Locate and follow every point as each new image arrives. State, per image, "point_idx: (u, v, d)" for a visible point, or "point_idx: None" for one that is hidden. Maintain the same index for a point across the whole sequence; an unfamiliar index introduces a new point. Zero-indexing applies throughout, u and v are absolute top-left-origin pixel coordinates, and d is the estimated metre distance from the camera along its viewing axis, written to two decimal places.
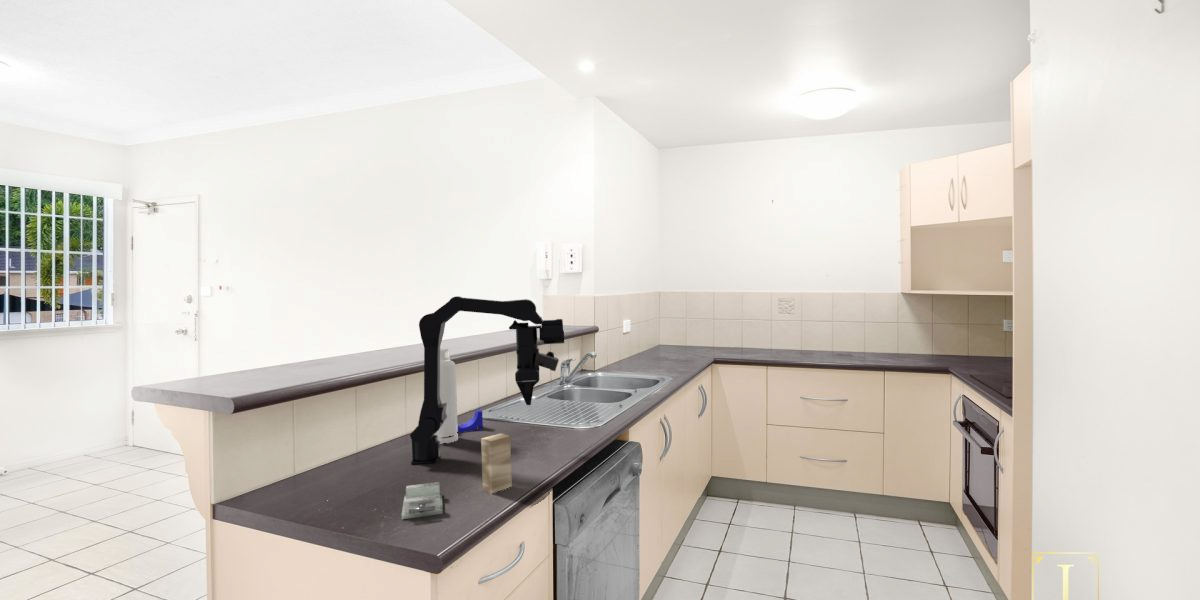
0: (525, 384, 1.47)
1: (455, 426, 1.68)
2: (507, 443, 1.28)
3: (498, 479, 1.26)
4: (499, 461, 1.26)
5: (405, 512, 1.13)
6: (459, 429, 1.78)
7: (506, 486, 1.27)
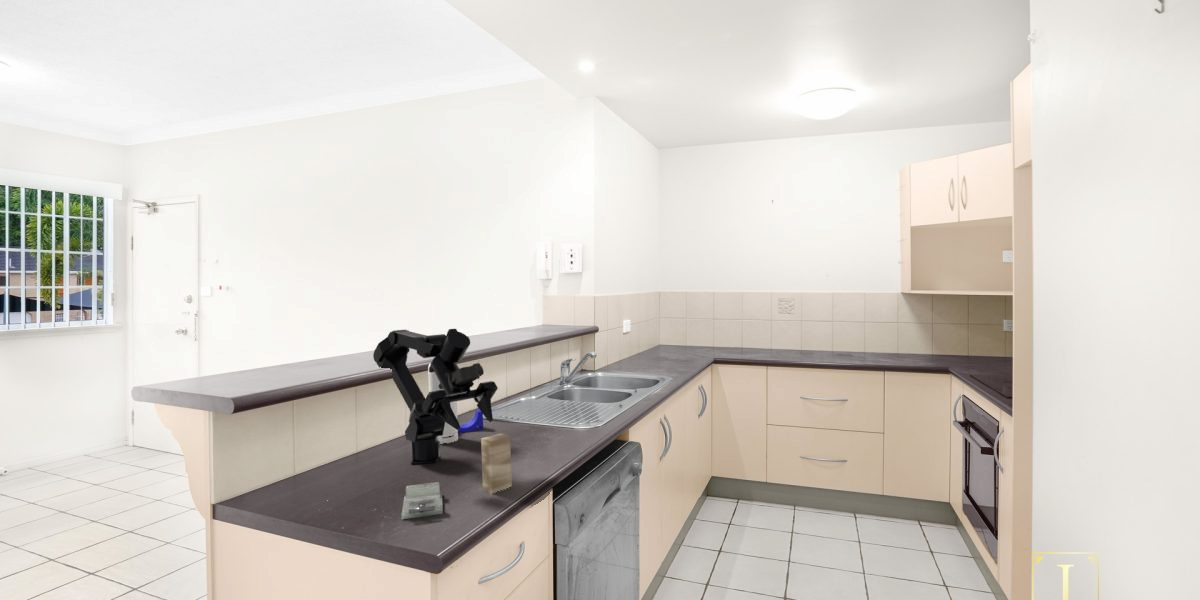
0: (443, 411, 1.32)
1: None
2: (507, 443, 1.28)
3: (498, 479, 1.26)
4: (499, 461, 1.26)
5: (405, 512, 1.13)
6: (459, 429, 1.77)
7: (506, 486, 1.27)
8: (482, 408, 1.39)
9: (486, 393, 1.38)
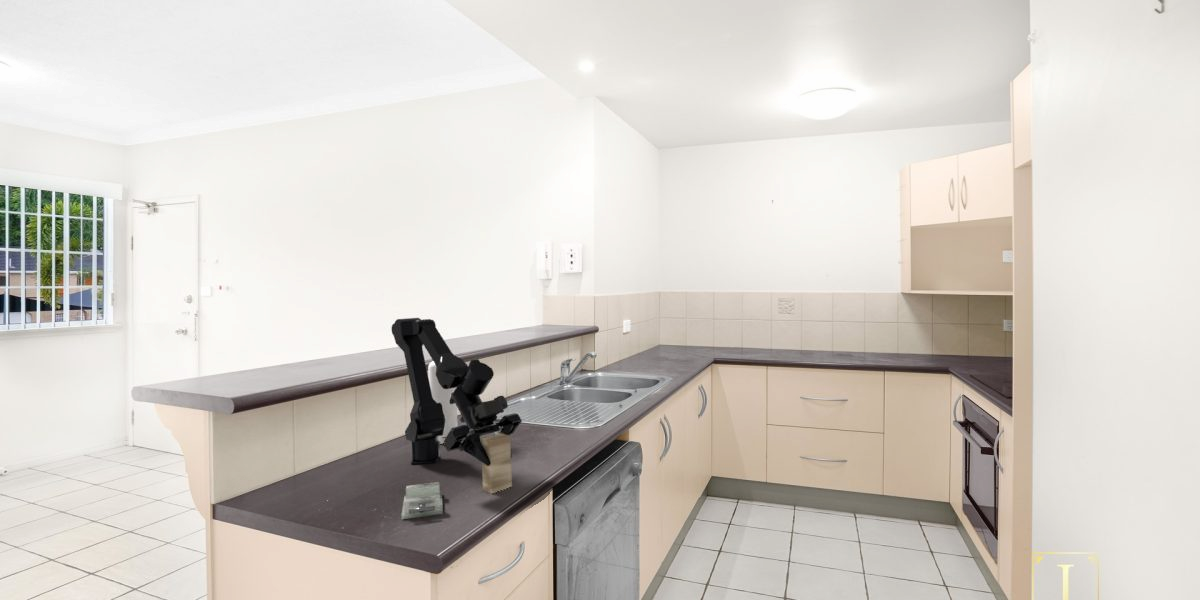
0: (472, 446, 1.27)
1: (455, 426, 1.68)
2: (507, 443, 1.28)
3: (498, 479, 1.26)
4: (499, 461, 1.26)
5: (405, 512, 1.13)
6: None
7: (506, 486, 1.27)
8: None
9: (504, 429, 1.31)
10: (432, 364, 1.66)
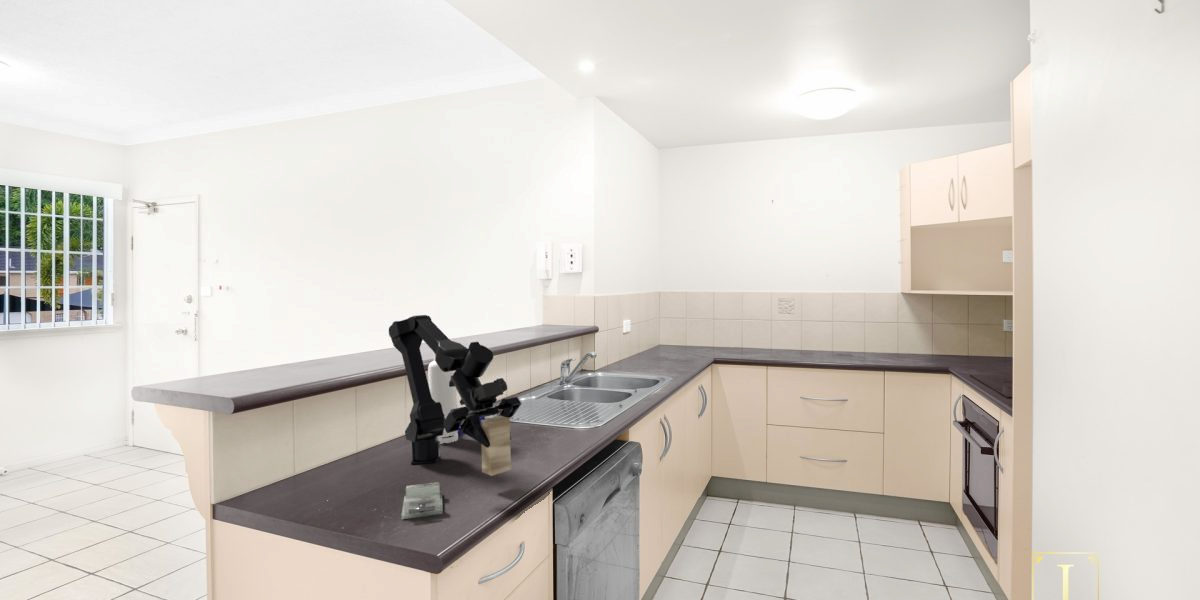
0: (472, 428, 1.26)
1: None
2: (507, 425, 1.28)
3: (497, 461, 1.26)
4: (499, 443, 1.26)
5: (405, 512, 1.13)
6: None
7: (505, 468, 1.27)
8: None
9: (503, 411, 1.31)
10: (432, 364, 1.66)
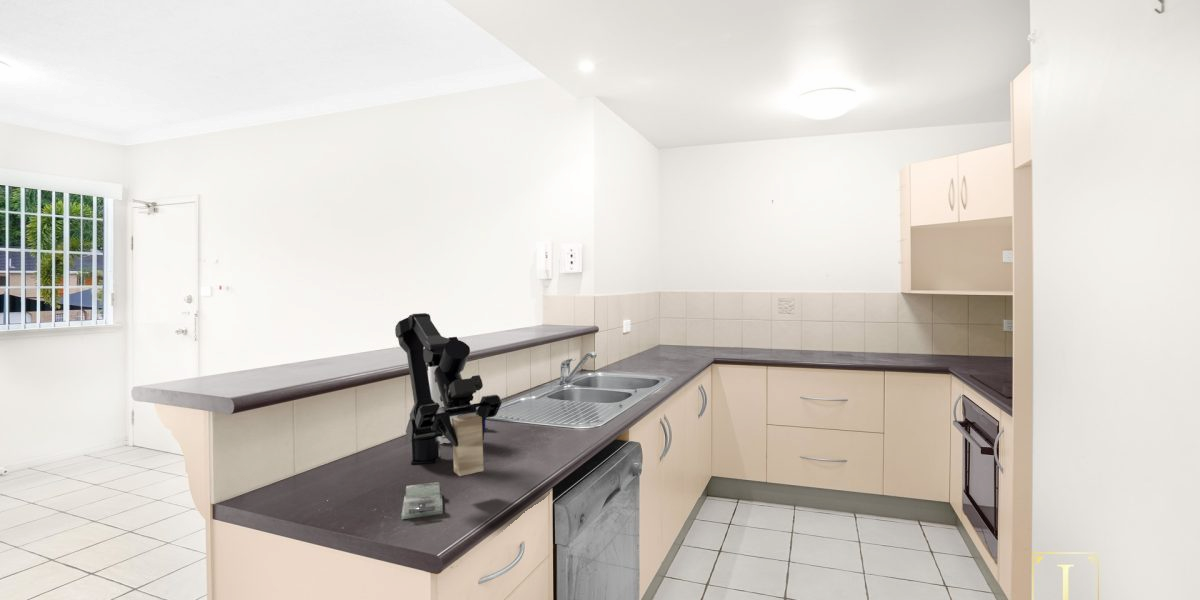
0: (444, 425, 1.23)
1: None
2: (478, 425, 1.22)
3: (467, 461, 1.21)
4: (468, 443, 1.21)
5: (405, 512, 1.13)
6: None
7: (477, 469, 1.22)
8: None
9: (479, 410, 1.25)
10: None
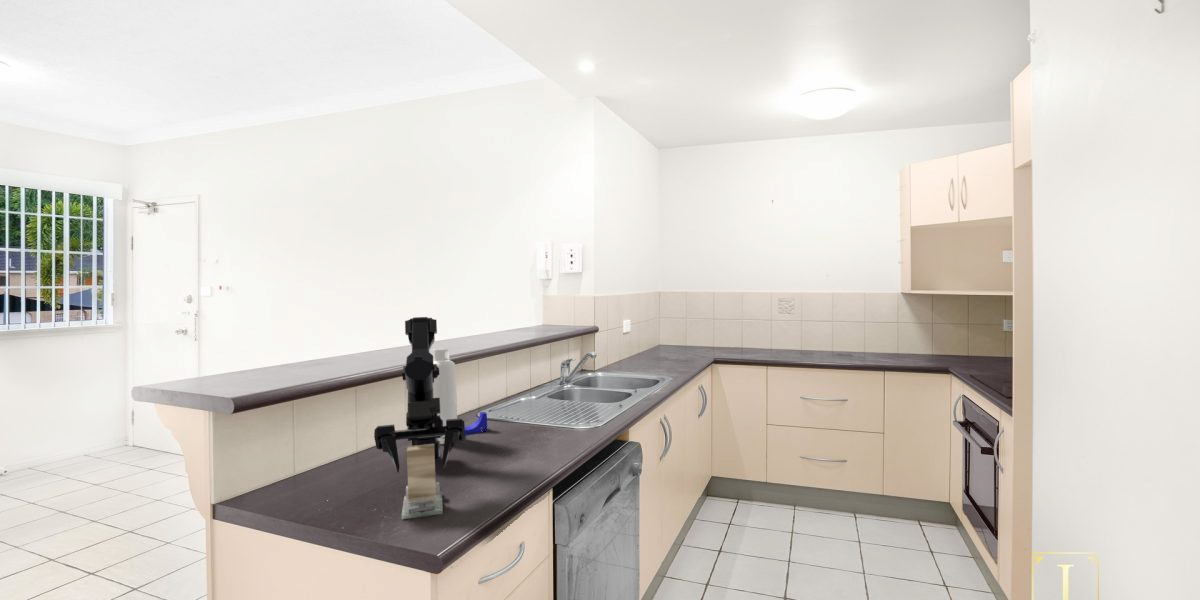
0: None
1: None
2: (430, 456, 1.17)
3: (417, 493, 1.16)
4: (419, 474, 1.16)
5: (405, 512, 1.13)
6: None
7: None
8: None
9: (445, 433, 1.21)
10: None
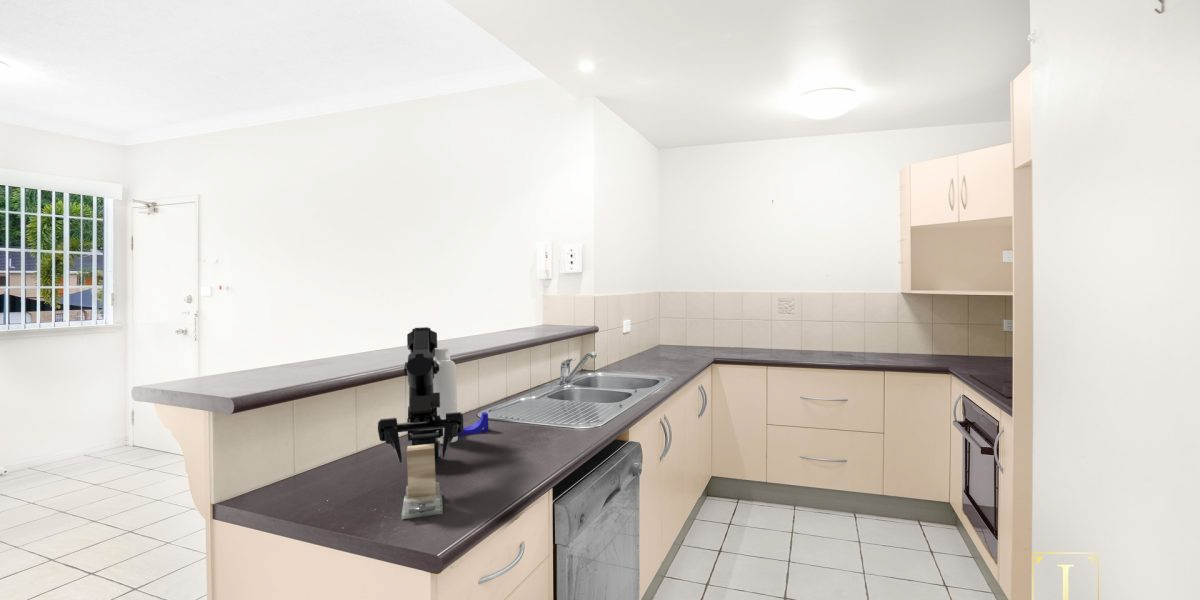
0: None
1: None
2: (430, 456, 1.17)
3: (417, 493, 1.16)
4: (419, 474, 1.16)
5: (405, 512, 1.13)
6: (464, 431, 1.75)
7: None
8: None
9: (444, 426, 1.28)
10: None
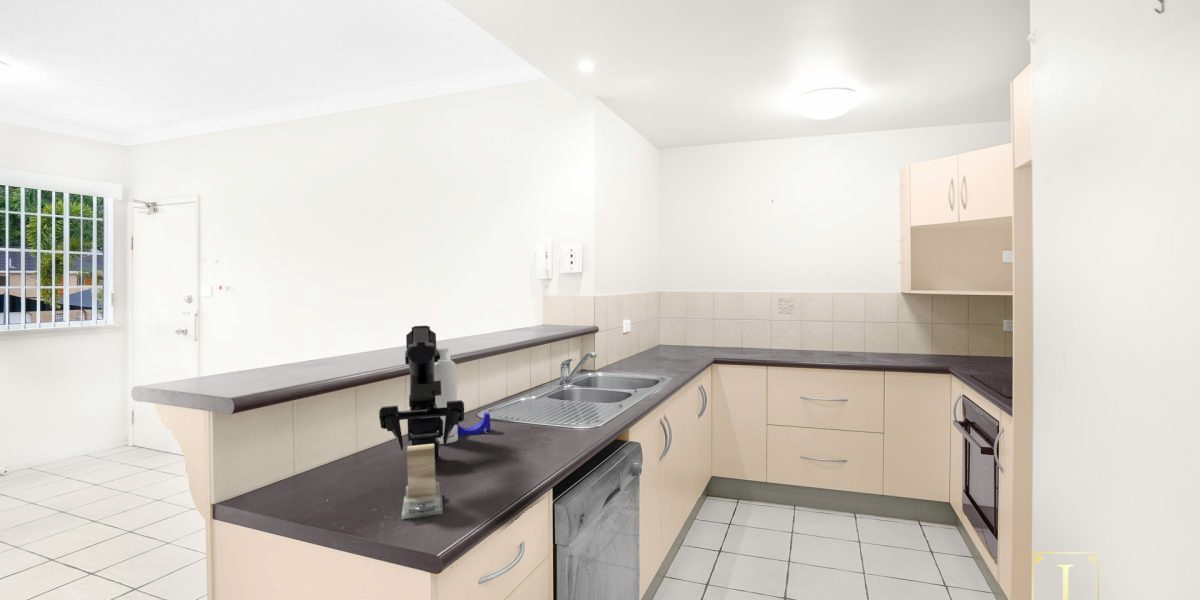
0: None
1: (455, 426, 1.68)
2: (430, 456, 1.17)
3: (417, 493, 1.16)
4: (419, 474, 1.16)
5: (405, 512, 1.13)
6: (466, 432, 1.74)
7: None
8: None
9: (445, 414, 1.28)
10: None
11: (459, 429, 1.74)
